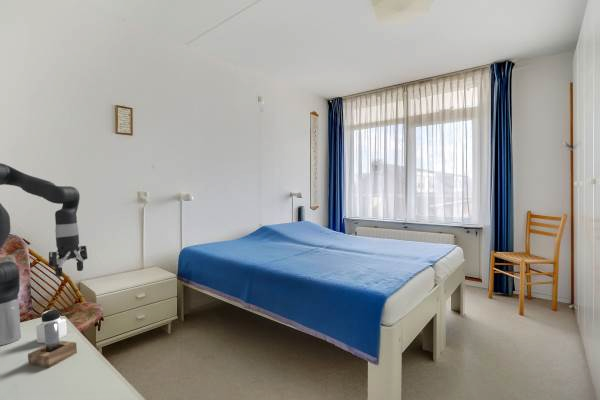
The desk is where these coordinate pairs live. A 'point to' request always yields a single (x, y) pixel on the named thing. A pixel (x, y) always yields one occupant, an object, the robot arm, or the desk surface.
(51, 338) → the peg
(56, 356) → the bore block
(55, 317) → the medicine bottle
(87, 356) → the desk surface
